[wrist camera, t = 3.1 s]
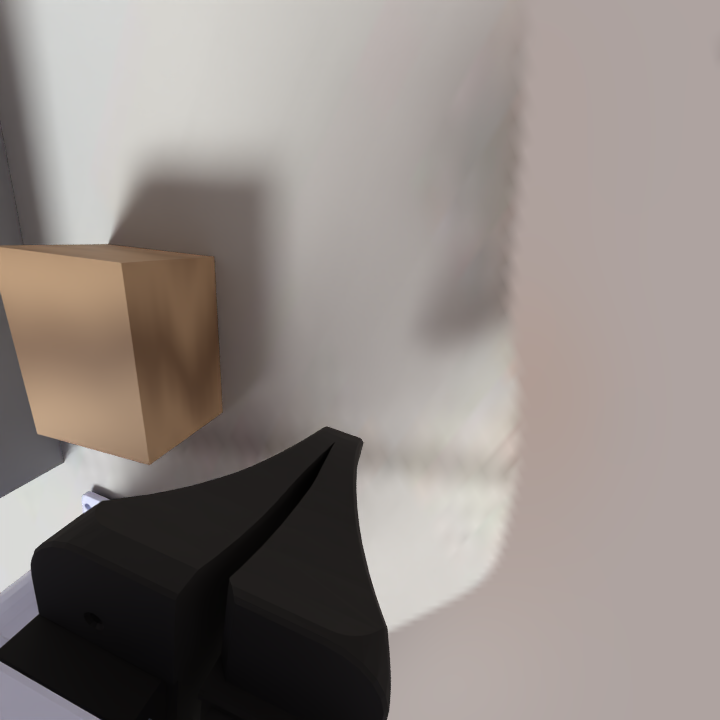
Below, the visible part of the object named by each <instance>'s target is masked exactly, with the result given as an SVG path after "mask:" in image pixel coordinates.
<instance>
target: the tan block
mask: <svg viewBox="0 0 720 720" xmlns="http://www.w3.org/2000/svg"><path fill="white" fill-rule="evenodd" d="M0 293H1V296H2V300H3V304H4V308H5V312H6V316H7V319H8V323H9V327H10V331H11V335H12V339H13V342H14V346H15V350H16V354H17V358H18V362H19V365H20V369H21V373H22V377H23V381H24V385H25V388H26V392H27V396H28V400H29V404H30V408H31V411H32V415H33V419H34V423H35V427H36V431H37V434H40V435H43V436H47V437H50V438H54V439H58V440H61V441H65V442H68V443H72V444H76V445H79V446H83V447H86V448H90V449H94V450H97V451H101V452H104V453H108V454H112V455H115V456H119V457H122V458H126V459H130V460H133V461H137V462H140V463H144V464H148V465H150V464H152V463H153V462H154V461H156V460H157V459H159V458H160V457H161V456H163V455H164V454H166V453H167V452H168V451H170V450H171V449H173V448H174V447H175V446H177V445H178V444H179V443H181V442H182V441H184V440H185V439H186V438H188V437H189V436H191V435H192V434H193V433H195V432H196V431H197V430H199V429H200V428H202V427H203V426H204V425H206V424H207V423H209V422H210V421H211V420H213V419H214V418H216V417H217V416H218V415H220V414H221V413H222V412H223V408H222V390H221V372H220V354H219V335H218V317H217V299H216V281H215V262H214V257H212V256H203V255H195V254H186V253H178V252H169V251H161V250H152V249H144V248H135V247H127V246H118V245H110V244H92V245H0Z"/></svg>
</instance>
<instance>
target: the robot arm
mask: <svg viewBox="0 0 720 720" xmlns="http://www.w3.org/2000/svg"><path fill="white" fill-rule="evenodd" d="M362 446H363V441H362V439H361V438H358V437H356V436H353V435H350V434H347V433H344V432H341V431H339V430H336V429H333V428H330V427H324V428H322V429H321V430H319V431H317V432H316V433H314V434H313V435H311V436H309V437H308V438H306V439H304V440H303V441H301V442H299V443H297V444H296V445H294V446H292V447H290V448H288V449H287V450H285V451H283V452H281V453H279V454H277V455H275V456H273V457H271V458H269V459H267V460H265V461H263V462H261V463H258V464H256V465H254V466H251V467H249V468H247V469H244V470H241V471H239V472H236V473H233V474H230V475H227V476H224V477H221V478H217V479H214V480H210V481H207V482H204V483H200V484H197V485H193V486H189V487H184V488H180V489H175V490H170V491H165V492H160V493H155V494H149V495H142V496H135V497H128V498H120V499H113V500H110V499H107V498H105V497H103V496H101V495H98V494H96V493H94V492H91V491H88V492H86V493H85V494H83V495H82V507H83V514H82V515H80V516H79V517H78V518H76V519H75V520H73V521H72V522H71V523H69V524H68V525H67V526H65V527H64V528H63V529H61V530H60V531H58V532H57V533H56V534H54V535H53V536H52V537H50V538H49V539H47V540H46V541H45V542H43V543H42V544H41V545H40V546H39V547H37V548H36V549H35V551H34V554H33V557H32V560H31V570H29V571H28V572H27V573H26V574H24V575H23V576H22V577H20V578H19V579H18V580H16V581H15V582H14V583H12V584H11V585H10V586H9V587H7V588H6V589H5V590H3V591H2V592H1V593H0V720H387V717H388V713H389V706H390V692H391V691H390V690H391V671H390V653H389V642H388V629H387V626H386V623H385V620H384V618H383V615H382V612H381V609H380V606H379V603H378V600H377V597H376V595H375V591H374V588H373V584H372V581H371V578H370V574H369V570H368V566H367V562H366V558H365V553H364V549H363V545H362V539H361V533H360V527H359V519H358V510H357V494H356V478H357V465H358V461H359V457H360V454H361V450H362Z"/></svg>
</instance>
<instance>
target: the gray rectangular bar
mask: <svg viewBox="0 0 720 720" xmlns="http://www.w3.org/2000/svg"><path fill="white" fill-rule="evenodd" d="M0 245H23V241H22V236H21V230H20V225H19V220H18V214H17V209H16V203H15V198H14V193H13V187H12V182H11V177H10V171H9V166H8V161H7V155H6V150H5V145H4V139H3V134H2V128H1V123H0ZM62 463H64V461H63V455H62V450H61V445H60V440H58V439H54V438H50V437H47V436H43V435H40V434H37V431H36V427H35V423H34V419H33V415H32V411H31V408H30V404H29V400H28V396H27V392H26V388H25V385H24V381H23V377H22V373H21V369H20V365H19V362H18V358H17V354H16V350H15V346H14V342H13V339H12V335H11V331H10V327H9V323H8V319H7V316H6V312H5V308H4V304H3V300H2V296H1V293H0V498H1V497H3V496H5V495H7V494H8V493H10V492H12V491H14V490H15V489H17V488H19V487H21V486H23V485H24V484H26V483H28V482H30V481H32V480H33V479H35V478H37V477H39V476H40V475H42V474H44V473H46V472H48V471H49V470H51V469H53V468H55V467H56V466H58V465H60V464H62Z"/></svg>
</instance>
